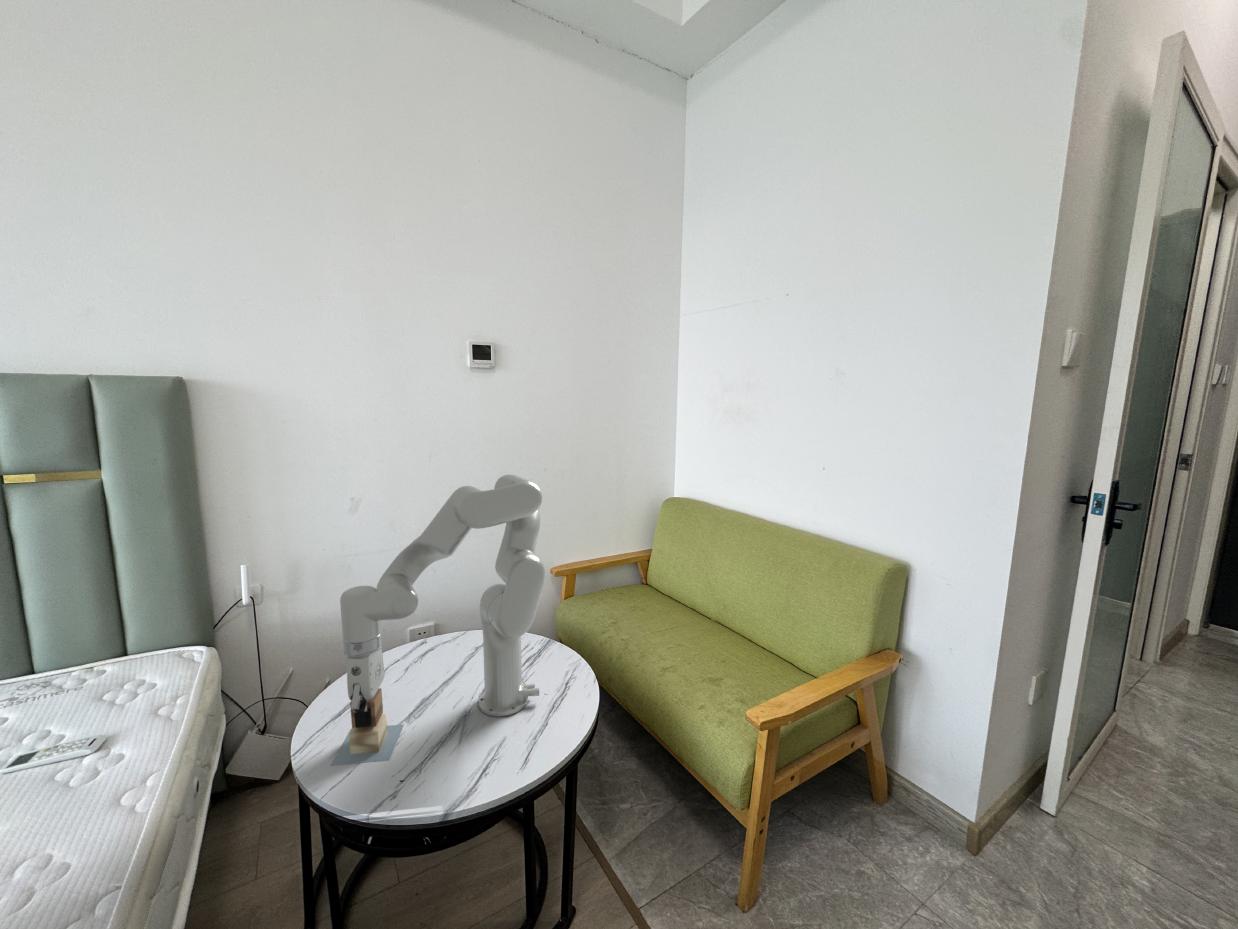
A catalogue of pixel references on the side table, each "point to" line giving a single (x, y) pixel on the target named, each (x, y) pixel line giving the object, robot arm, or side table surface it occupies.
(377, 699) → the walnut block
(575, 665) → the side table surface
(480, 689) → the side table surface
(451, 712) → the side table surface
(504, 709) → the robot arm
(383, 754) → the build plate
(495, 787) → the side table surface
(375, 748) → the beech block
